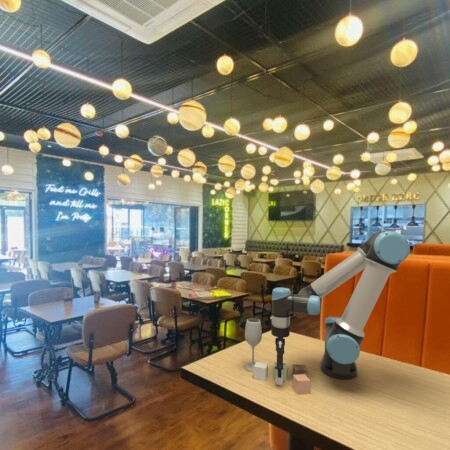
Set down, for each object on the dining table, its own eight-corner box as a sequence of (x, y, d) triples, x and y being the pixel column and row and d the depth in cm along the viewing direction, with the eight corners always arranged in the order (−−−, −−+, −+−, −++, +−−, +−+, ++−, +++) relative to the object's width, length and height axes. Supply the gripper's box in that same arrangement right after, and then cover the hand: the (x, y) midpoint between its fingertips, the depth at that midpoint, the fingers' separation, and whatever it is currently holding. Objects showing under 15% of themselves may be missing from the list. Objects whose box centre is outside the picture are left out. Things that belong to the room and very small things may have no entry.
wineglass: (260, 372, 130) (261, 323, 130) (243, 370, 132) (243, 322, 132) (262, 364, 138) (262, 318, 138) (245, 363, 139) (246, 317, 139)
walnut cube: (304, 376, 127) (304, 364, 128) (307, 382, 122) (307, 370, 123) (292, 376, 128) (292, 364, 128) (295, 382, 123) (295, 369, 123)
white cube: (267, 375, 128) (267, 363, 128) (265, 380, 123) (265, 368, 123) (256, 373, 130) (256, 361, 130) (253, 378, 125) (253, 366, 125)
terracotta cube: (304, 386, 119) (304, 374, 119) (310, 393, 114) (310, 380, 114) (292, 387, 118) (292, 374, 118) (297, 394, 113) (297, 381, 113)
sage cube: (286, 375, 128) (286, 363, 129) (286, 380, 124) (286, 368, 124) (274, 373, 129) (274, 362, 129) (274, 379, 125) (274, 367, 125)
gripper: (272, 316, 140) (271, 362, 140) (270, 334, 115) (269, 391, 115) (289, 317, 138) (288, 364, 138) (290, 336, 114) (289, 393, 114)
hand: (279, 376), depth 127 cm, fingers open, 13 cm apart
